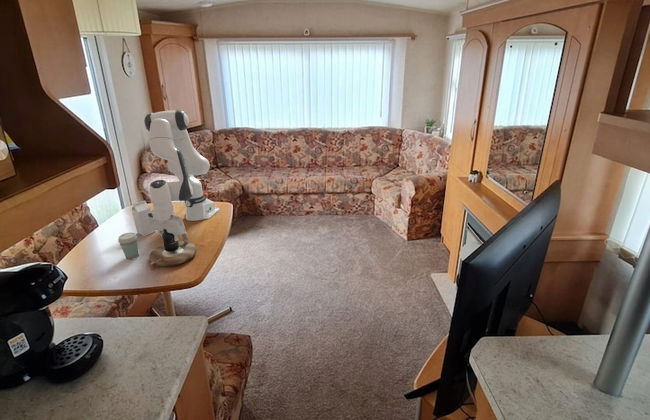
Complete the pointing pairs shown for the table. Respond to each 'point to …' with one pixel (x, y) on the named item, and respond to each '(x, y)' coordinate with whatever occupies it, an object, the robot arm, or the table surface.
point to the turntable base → (153, 265)
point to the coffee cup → (129, 245)
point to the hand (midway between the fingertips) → (169, 239)
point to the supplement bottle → (169, 241)
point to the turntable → (173, 253)
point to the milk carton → (141, 218)
